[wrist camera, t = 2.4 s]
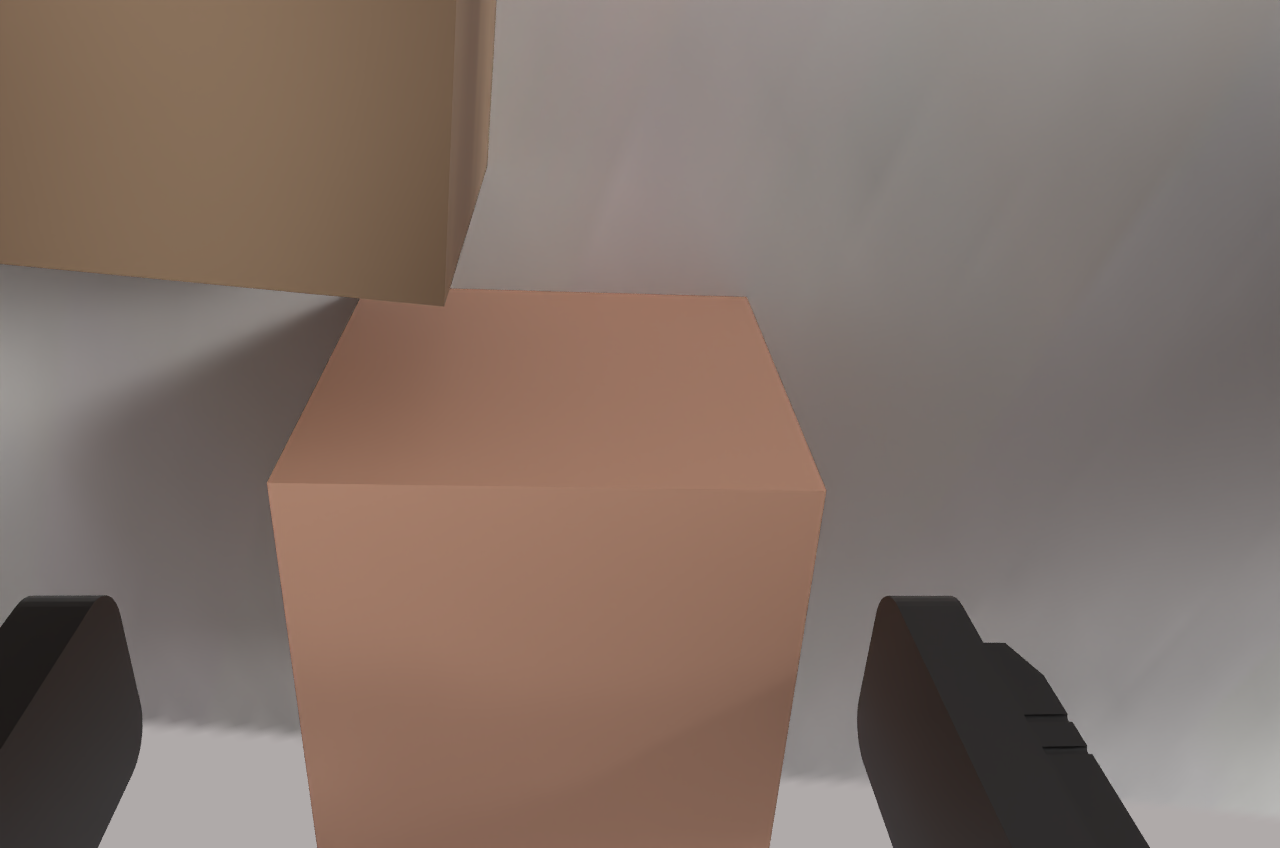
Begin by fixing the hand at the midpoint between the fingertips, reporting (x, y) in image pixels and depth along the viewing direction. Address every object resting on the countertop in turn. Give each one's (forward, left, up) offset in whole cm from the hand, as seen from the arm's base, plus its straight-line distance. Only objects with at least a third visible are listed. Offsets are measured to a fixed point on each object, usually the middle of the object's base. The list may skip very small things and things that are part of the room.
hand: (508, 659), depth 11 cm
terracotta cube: (0, 0, -4) cm, 4 cm away
